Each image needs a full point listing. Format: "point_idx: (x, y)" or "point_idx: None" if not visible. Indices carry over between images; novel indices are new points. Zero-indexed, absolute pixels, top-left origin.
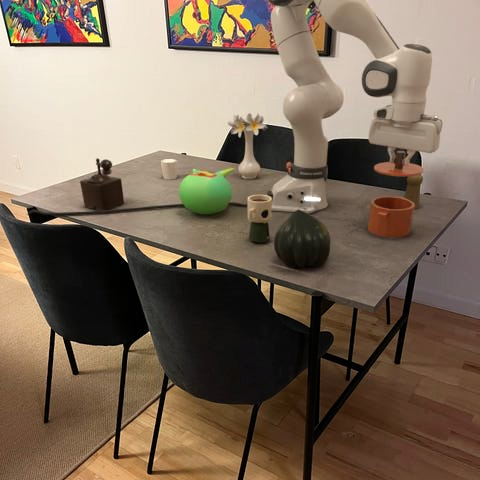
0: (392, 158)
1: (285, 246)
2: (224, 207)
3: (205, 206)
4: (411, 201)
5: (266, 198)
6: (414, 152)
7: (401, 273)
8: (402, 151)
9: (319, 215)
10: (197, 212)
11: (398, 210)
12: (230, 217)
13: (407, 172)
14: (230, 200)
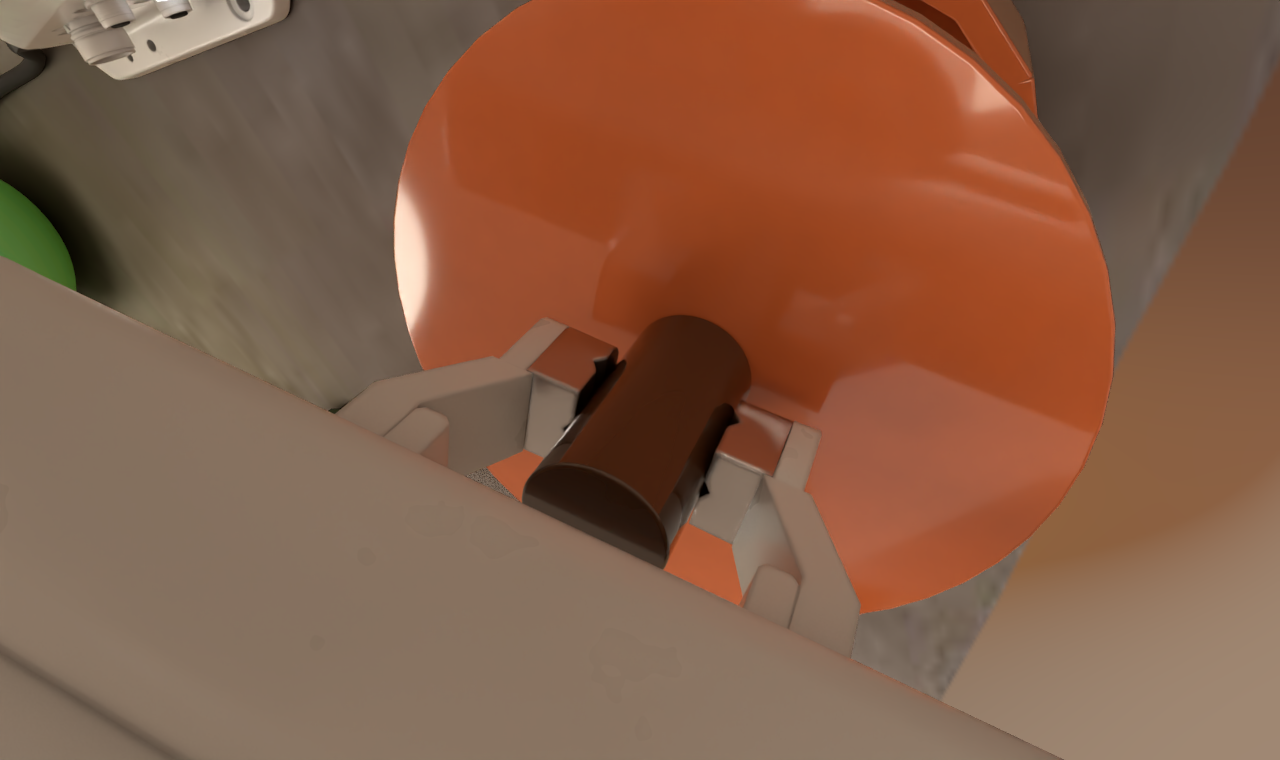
0: (538, 438)
1: None
2: (64, 271)
3: None
4: (999, 35)
5: None
6: (848, 631)
7: (986, 618)
8: (603, 501)
9: (346, 11)
10: None
11: None
12: (123, 248)
13: (849, 550)
14: (20, 233)
